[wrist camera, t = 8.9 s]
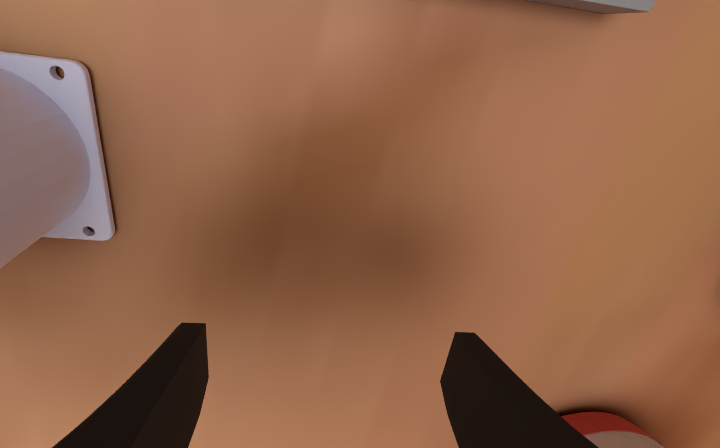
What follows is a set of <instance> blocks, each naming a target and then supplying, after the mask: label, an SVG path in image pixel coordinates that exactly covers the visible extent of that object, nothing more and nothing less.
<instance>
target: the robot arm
mask: <svg viewBox="0 0 720 448" xmlns="http://www.w3.org/2000/svg"><path fill="white" fill-rule="evenodd" d="M57 66H59V67H60V68H61V69H63V71H64V73H65V75H64V78H61V77H59V76H58V75H57V73H56V67H57ZM87 226H89V227H91V228H93V229H94V231H95V232H91V231H89V230H88V228H87ZM114 233H115V226H114V220H113V214H112V207H111V201H110V195H109V189H108V183H107V177H106V171H105V165H104V159H103V153H102V147H101V141H100V135H99V129H98V123H97V117H96V111H95V104H94V98H93V92H92V86H91V80H90V75H89V72H88V69H87V68H86V67H85V66H84V65H83V64H82V63H80V62H79V61H75V60H70V59H62V58H53V57H45V56H37V55H29V54H21V53H13V52H4V51H0V268H2V267H3V266H4V265H6V264H7V263H8V262H10V261H11V260H12V259H13V258H15V257H16V256H17V255H19V254H20V253H21V252H23V251H24V250H25V249H27V248H28V247H29V246H30V245H32V244H33V243H34V242H36V241H37V240H38V239H40V238H41V237H49V238H65V239H82V240H98V241H105V240H108V239H110V238H111V237H112V236H113V235H114ZM208 378H209V375H208V357H207V340H206V323H181V324H180V325H179V326H178V327H177V328H176V329H175V330H174V331H173V332H172V333H171V335H170V336H169V337H168V338H167V339H166V340H165V341H164V342H163V343H162V345H161V346H160V347H159V348H158V349H157V350H156V351H155V352H154V353H153V354H152V355H151V356H150V358H149V359H148V360H147V361H146V362H145V363H144V364H143V365H142V366H141V367H140V368H139V369H138V370H137V371H136V372H135V373H134V374H133V375H132V376H131V377H130V378H129V379H128V380H127V381H126V382H125V383H124V384H123V385H122V386H121V387H120V388H119V389H118V390H117V391H116V392H115V393H114V394H113V395H111V396H110V397H109V398H108V399H107V400H106V401H105V402H104V403H103V404H102V405H101V406H100V407H99V408H97V409H96V410H95V411H94V412H93V413H92V414H91V415H90V416H89V417H88V418H87V419H85V420H84V421H83V422H82V423H81V424H80V425H79V426H77V427H76V428H75V429H74V430H73V431H72V432H70V433H69V434H68V435H67V436H66V437H64V438H63V439H62V440H61V441H59V442H58V443H57V444H56V445H55V446H53V447H52V448H188V446H189V443H190V441H191V438H192V435H193V432H194V429H195V427H196V424H197V421H198V418H199V415H200V411H201V407H202V403H203V399H204V395H205V391H206V386H207V382H208ZM440 382H441V387H442V392H443V397H444V401H445V405H446V410H447V414H448V417H449V420H450V423H451V426H452V429H453V432H454V435H455V438H456V441H457V444H458V446H459V448H599V447H597V446H596V445H595V444H594V443H592V442H591V441H590V440H588V439H587V438H586V437H585V436H583V435H582V434H581V433H580V432H578V431H577V430H576V429H575V428H574V427H572V426H571V425H570V424H569V423H568V422H567V421H565V420H564V419H563V418H562V417H561V416H560V415H559V414H557V413H556V412H555V411H554V410H553V409H552V408H551V407H550V406H549V405H547V404H546V403H545V402H544V401H543V400H542V399H541V398H540V397H539V396H538V395H537V394H536V393H534V392H533V391H532V390H531V389H530V388H529V387H528V386H527V385H526V384H525V383H524V382H523V381H522V380H521V379H520V378H519V377H518V376H517V375H516V374H515V373H514V372H513V371H512V370H511V369H510V368H509V367H508V366H507V365H506V364H505V363H504V362H503V361H502V360H501V359H500V358H499V357H498V356H497V355H496V354H495V353H494V352H493V351H492V350H491V349H490V348H489V347H488V346H487V345H486V344H485V343H484V342H483V341H482V340H481V339H480V338H479V337H478V336H477V335H476V334H475V333H465V332H455V335H454V338H453V341H452V345H451V348H450V351H449V354H448V357H447V361H446V364H445V367H444V370H443V374H442V377H441V380H440Z"/></svg>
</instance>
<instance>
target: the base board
mask: <svg viewBox="0 0 720 448" xmlns="http://www.w3.org/2000/svg"><path fill="white" fill-rule="evenodd" d="M527 1H533V2H539V3H545V4H551V5H557V6H563V7H569V8H575V9H581V10H587V11H592V12H598V13H604V14H613V13H638V12H650V11H651V9H652V6H653V4H654V1H655V0H527Z"/></svg>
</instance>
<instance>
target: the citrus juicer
mask: <svg viewBox="0 0 720 448" xmlns="http://www.w3.org/2000/svg"><path fill="white" fill-rule="evenodd" d="M561 417H562V418H563V419H564V420H565V421H567V422H568V423H569V424H570V425H571V426H572V427H574V428H575V429H576V430H577V431H578V432H580V433H581V434H582V435H583V436H585V437H586V438H587V439H588V440H590V441H591V442H592V443H594V444H595V445H596V446H597V447H599V448H664V447H663V446H662V445H661V443H660V442H659V441H658V440H656V439H655V438H653V437H652V436H650V435H649V434H647V433H646V432H644V431H643V430H641V429H640V428H638V427H637V426H635V425H633V424H632V423H630V422H629V421H627V420H625V419H623V418H622V417H620V416H617V415H614V414H610V413H604V412H581V413H575V414H570V415H565V416H561Z"/></svg>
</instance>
